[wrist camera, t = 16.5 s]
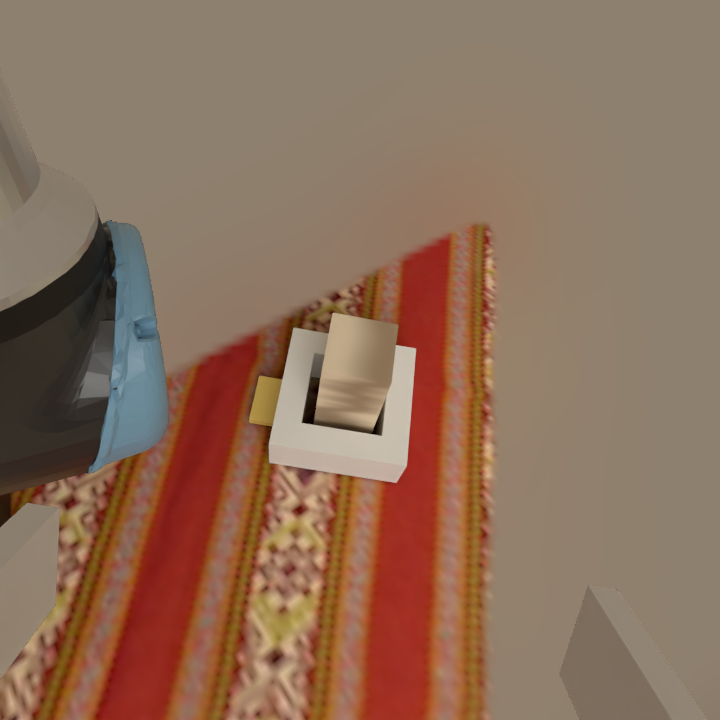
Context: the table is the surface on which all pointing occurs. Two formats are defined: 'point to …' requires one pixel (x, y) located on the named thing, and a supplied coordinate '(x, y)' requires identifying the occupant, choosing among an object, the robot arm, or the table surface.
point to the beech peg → (355, 373)
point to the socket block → (324, 444)
